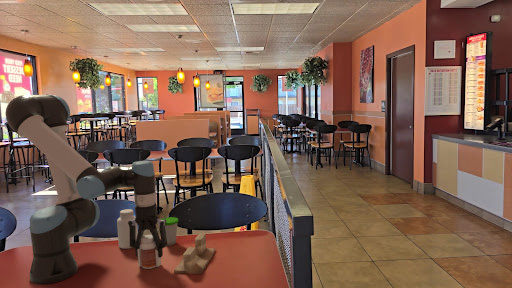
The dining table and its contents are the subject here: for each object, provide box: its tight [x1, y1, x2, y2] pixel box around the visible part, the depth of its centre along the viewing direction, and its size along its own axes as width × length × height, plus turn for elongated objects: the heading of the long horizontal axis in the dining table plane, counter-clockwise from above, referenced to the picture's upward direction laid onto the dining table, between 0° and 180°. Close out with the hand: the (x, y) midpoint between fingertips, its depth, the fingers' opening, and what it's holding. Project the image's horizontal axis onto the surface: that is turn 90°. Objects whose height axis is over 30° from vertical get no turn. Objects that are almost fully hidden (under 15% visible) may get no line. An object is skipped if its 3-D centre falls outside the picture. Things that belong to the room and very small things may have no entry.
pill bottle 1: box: [116, 208, 139, 250], centre depth 162 cm, size 8×8×15 cm
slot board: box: [173, 233, 216, 275], centre depth 145 cm, size 10×20×7 cm, turn 172°
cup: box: [160, 211, 179, 247], centre depth 162 cm, size 8×8×15 cm
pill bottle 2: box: [140, 234, 157, 270], centre depth 142 cm, size 6×6×11 cm
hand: (149, 264), depth 142 cm, fingers closed on pill bottle 2, 6 cm apart
